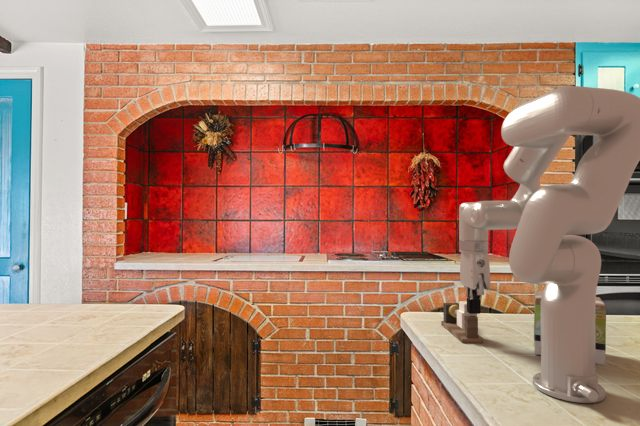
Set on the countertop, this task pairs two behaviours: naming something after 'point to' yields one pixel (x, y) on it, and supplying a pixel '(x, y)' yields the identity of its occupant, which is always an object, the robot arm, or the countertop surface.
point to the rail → (461, 334)
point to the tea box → (599, 328)
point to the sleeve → (462, 314)
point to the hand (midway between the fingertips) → (473, 312)
